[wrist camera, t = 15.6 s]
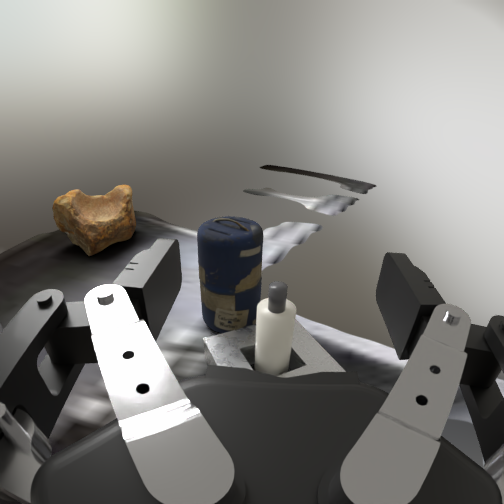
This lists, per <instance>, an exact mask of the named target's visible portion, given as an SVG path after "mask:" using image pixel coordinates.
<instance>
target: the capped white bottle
mask: <svg viewBox="0 0 504 504" xmlns="http://www.w3.org/2000/svg"><path fill="white" fill-rule="evenodd" d="M286 298H287V285H286V284H285V283H283V282H279V281H276V282H272V283H271V284H270V285H269V298H266V299H264V300H262V301H260V302H259V303H258V305H257V318H256V343H255V367H254V371H258V372H262V373H265V374H269V375H273V376H279V375H282V374H284V373H287V372H288V368H289V361H290V354H291V347H292V339H293V332H294V324H295V316H296V306H295V305H294V304H293V303H292V302H291V301H289V300H287V299H286Z"/></svg>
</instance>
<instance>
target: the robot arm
mask: <svg viewBox="0 0 504 504" xmlns="http://www.w3.org/2000/svg"><path fill="white" fill-rule="evenodd" d="M181 283H182V273H181V261H180V249H179V242H178V240H177V239H161V238H159V239H157V240H156V242H155V243H154V244H153V245H152V247H151V248H150V249H149V250H144V251H142V252H140V253H139V254H137V255H135V257H134V258H133V259H132V260H131V261H130V264H128V265H127V266H126V267H125V269H124V270H123V271H122V272H121V274H120V275H119V276H118V277H117V279H116V280H115V281H114V282H113V284H112V285H103V286H99V287H97V288H95V289H93V290H91V291H90V292H89V293H88V294H87V295H86V297H85V301H81V302H68V303H66V302H65V299H64V296H63V293H62V292H61V291H59V290H55V289H49V290H44V291H41V292H39V293H37V294H35V295H34V296H32V297H31V298H30V299H29V301H28V302H27V303H26V304H25V305H24V306H23V307H22V308H21V310H20V311H19V312H18V313H17V314H16V315H15V317H14V318H13V319H12V320H11V321H10V323H9V324H8V325H7V326H6V327H5V329H4V330H3V329H2V326H1V324H0V498H2V499H3V500H5V501H8V502H15V501H19V502H21V503H23V504H504V398H503V396H502V394H501V392H500V389H499V387H498V385H497V383H496V381H495V380H496V378H497V377H498V375H499V373H500V372H501V370H502V371H503V373H504V316H499V315H498V316H493V317H492V318H491V319H490V321H489V324H488V326H487V327H484V326H479V325H474V324H471V319H470V317H469V315H468V314H467V313H466V312H465V311H464V310H462V309H461V308H459V307H457V306H454V305H450V304H446V303H445V301H444V300H443V299H442V297H441V296H440V294H439V293H438V291H437V290H436V288H434V285H433V284H432V282H430V280H429V278H428V277H427V275H426V274H425V273H424V272H423V271H421V270H420V269H419V268H417V267H416V266H414V265H413V264H412V263H411V261H410V260H409V258H408V257H407V256H406V254H403V253H388V252H387V253H386V254H385V256H384V260H383V264H382V268H381V272H380V276H379V280H378V284H377V289H376V301H377V304H378V306H379V309H380V311H381V314H382V316H383V319H384V321H385V324H386V326H387V329H388V331H389V334H390V337H391V339H392V342H393V345H394V347H395V350H396V353H397V355H398V358H399V360H407V359H409V360H408V362H407V364H406V366H405V368H404V370H403V371H402V373H401V375H400V377H399V378H398V380H397V382H396V384H395V385H394V387H393V389H392V390H391V392H390V394H388V393H387V392H385V391H383V390H381V389H379V388H377V387H374V386H371V385H368V384H364V383H360V382H359V378H358V373H357V372H317V373H312V374H306V375H300V376H294V377H287V378H282V377H277V376H273V375H269V374H265V373H262V372H258V371H254V370H250V369H247V368H239V367H228V366H217V365H208V367H207V371H206V375H202V376H195V377H190V378H187V379H183V380H181V381H178V382H177V380H176V378H175V377H174V375H173V373H172V371H171V370H170V368H169V366H168V364H167V363H166V361H165V359H164V357H163V355H162V354H161V352H160V350H159V348H158V346H157V344H156V340H157V338H158V336H159V333H160V331H161V329H162V327H163V325H164V323H165V321H166V318H167V316H168V314H169V312H170V310H171V308H172V306H173V304H174V302H175V299H176V297H177V295H178V293H179V291H180V288H181ZM43 347H45V349H46V351H47V355H46V356H45V358H44V360H43V361H42V363H41V364H40V366H39V368H37V358H38V355H39V353H40V352H41V350H42V349H43ZM85 363H99V365H100V368H101V372H102V375H103V378H104V381H105V384H106V388H107V391H108V394H109V396H110V399H111V402H112V405H113V408H114V411H115V413H116V416H117V418H116V419H115V420H113V421H111V422H110V423H108V424H106V425H105V426H103V427H101V428H100V429H98V430H96V431H95V432H93V433H91V434H90V435H88V436H86V437H84V438H83V439H81V440H79V441H77V442H76V443H74V444H72V445H70V446H69V447H67V448H65V449H63V450H61V451H60V452H58V453H56V454H54V455H53V456H51V445H50V442H49V440H48V438H49V436H50V434H51V432H52V430H53V427H54V425H55V423H56V421H57V419H58V417H59V414H60V412H61V410H62V408H63V406H64V404H65V402H66V400H67V398H68V396H69V394H70V392H71V390H72V388H73V386H74V384H75V382H76V380H77V378H78V376H79V374H80V372H81V370H82V368H83V367H84V365H85ZM458 386H460V388H461V391H462V394H463V396H464V399H465V402H466V405H467V407H468V410H469V413H470V416H471V419H472V422H473V425H474V428H475V431H476V434H477V437H478V441H479V444H480V447H481V451H482V454H483V458H484V461H485V465H484V468H482V467H480V466H479V465H478V464H477V463H475V462H474V461H473V460H471V459H470V458H469V457H468V456H466V455H465V454H464V453H463V452H461V451H460V450H459V449H457V448H456V447H455V446H454V445H452V444H451V443H450V442H449V441H447V440H446V439H445V438H444V437H442V436H441V434H442V431H443V429H444V426H445V423H446V421H447V418H448V415H449V413H450V410H451V407H452V404H453V401H454V398H455V395H456V392H457V389H458ZM50 456H51V457H50Z"/></svg>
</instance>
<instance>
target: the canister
mask: <svg viewBox="0 0 504 504" xmlns="http://www.w3.org/2000/svg"><path fill="white" fill-rule="evenodd" d="M197 242H198V264H199V279H200V289H201V302H202V315H203V319H204V321H205V323H206V324H207V325H208V326H209V327H210V328H211V329H212V330H214V331H216V332H219V333H226V332H229V331H233V330H237V329H241V328H244V327H248V326H251V325H255V324H256V318H257V305H258V303H259V302H260V297H261V279H262V277H261V268H262V247H263V230H262V228H261V227H260V225H259V224H258V223H256V222H254V221H252V220H249V219H246V218H241V217H219V218H214V219H211V220H208V221H206V222H205V223H203V224H202V225H201V226H200V227H199V229H198V233H197Z"/></svg>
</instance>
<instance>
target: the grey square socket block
mask: <svg viewBox="0 0 504 504" xmlns="http://www.w3.org/2000/svg"><path fill="white" fill-rule="evenodd" d="M203 342H204V352H205V359H206V361H207V363H208V365H217V366H228V367H239V368H247V369H250V370H253V369H252V368H251V366H250V365H252V364H255V343H256V324H255V325H251V326H248V327H244V328H241V329H237V330H233V331H229V332H226V333H222V334H218V335H214V336H210V337H206V338H203ZM289 368H290V369H291V371H290V372H287V373H284V374H282V375H279V376H277V377H282V378H287V377H294V376H300V375H306V374H312V373H317V372H346V371H345V370H344V369H343V368H342V367H341V366H340V365H339V364H338V363H337V362H336V361H335V360H334V359H333V358H332V357H331V356H330V355H329V354H328V353H327V352H326V351H325V349H324V348H323V347H322V346H321V345H320V344H319V343H318V342H317V341H316V340H315V339H314V338H313V337H312V336H311V335H310V334H309V333H308V332H307V331H306V330H305V328H304V327H303V326H302V325H301V324H300V323H299V322H298V321H297V320H296V319H295V324H294V332H293V339H292V347H291V354H290V361H289Z"/></svg>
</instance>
